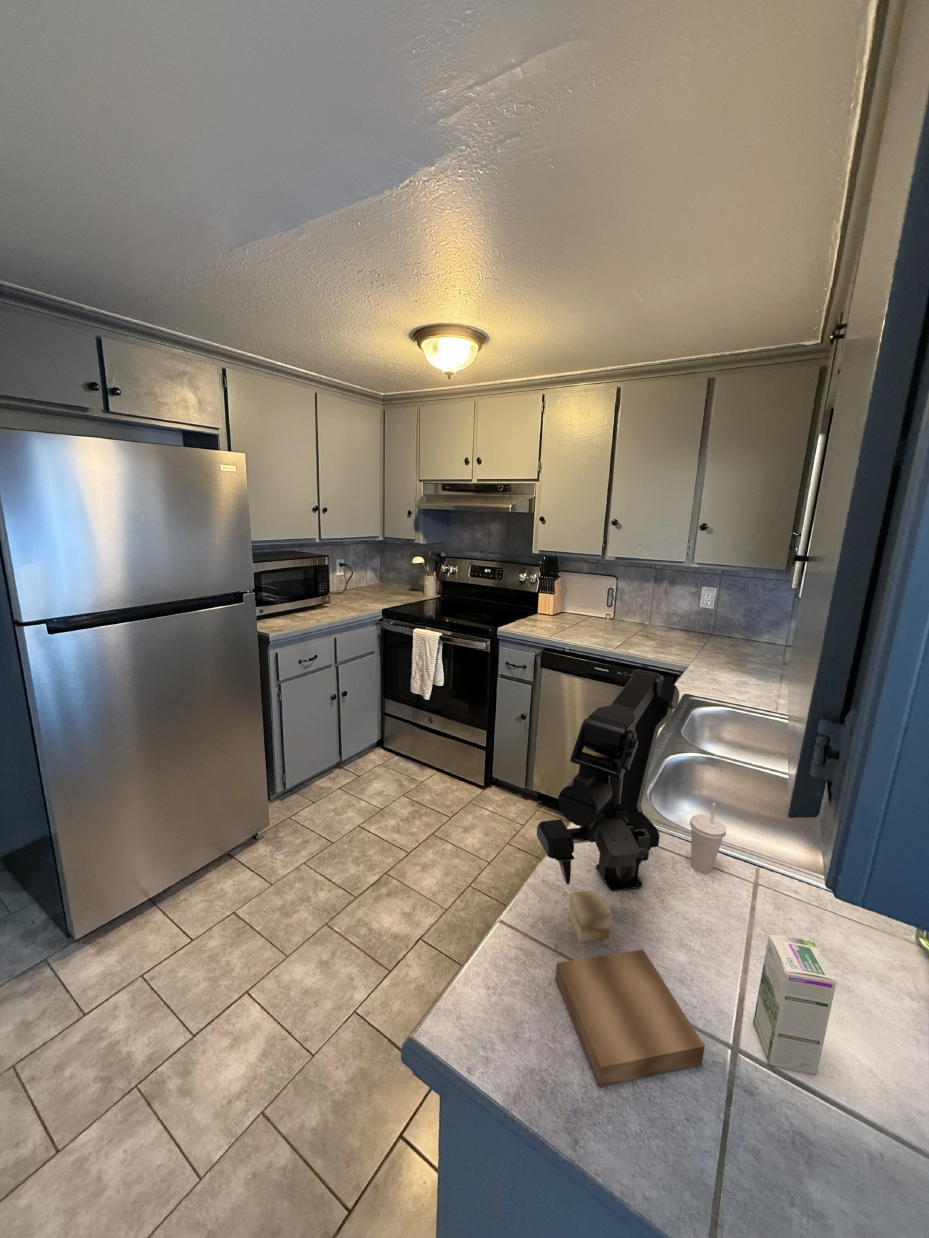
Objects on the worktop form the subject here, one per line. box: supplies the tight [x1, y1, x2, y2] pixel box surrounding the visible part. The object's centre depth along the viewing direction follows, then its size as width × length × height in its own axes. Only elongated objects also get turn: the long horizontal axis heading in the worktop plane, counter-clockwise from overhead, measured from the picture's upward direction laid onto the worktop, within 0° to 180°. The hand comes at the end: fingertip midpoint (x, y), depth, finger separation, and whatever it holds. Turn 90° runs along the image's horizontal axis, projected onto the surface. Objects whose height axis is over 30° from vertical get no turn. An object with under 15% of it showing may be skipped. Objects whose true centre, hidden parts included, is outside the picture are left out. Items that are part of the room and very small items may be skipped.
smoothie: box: [689, 802, 727, 875], centre depth 95 cm, size 6×6×14 cm
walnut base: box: [554, 949, 706, 1088], centre depth 66 cm, size 14×14×3 cm
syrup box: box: [752, 934, 837, 1076], centre depth 62 cm, size 6×6×14 cm
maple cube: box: [567, 889, 612, 943], centre depth 81 cm, size 5×5×5 cm
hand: (593, 879), depth 79 cm, fingers open, 9 cm apart
